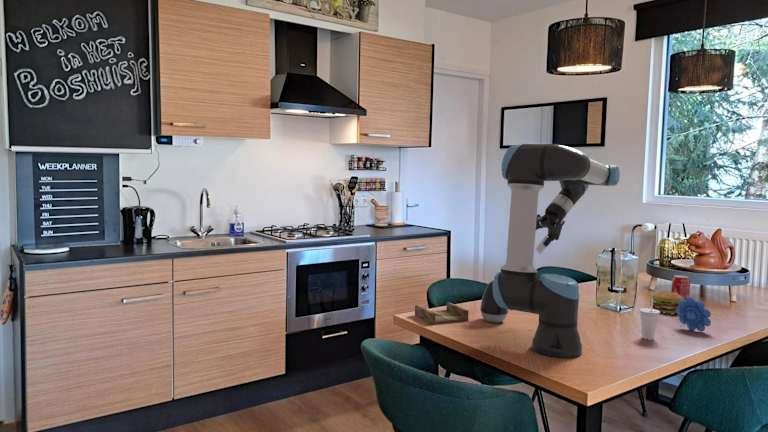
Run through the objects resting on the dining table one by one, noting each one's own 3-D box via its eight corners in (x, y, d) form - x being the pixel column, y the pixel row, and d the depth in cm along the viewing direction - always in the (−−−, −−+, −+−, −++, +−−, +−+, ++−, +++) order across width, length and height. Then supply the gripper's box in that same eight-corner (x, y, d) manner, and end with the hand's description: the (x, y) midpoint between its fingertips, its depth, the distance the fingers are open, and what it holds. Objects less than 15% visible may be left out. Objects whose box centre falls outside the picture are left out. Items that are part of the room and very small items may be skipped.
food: (687, 317, 224) (688, 297, 223) (648, 312, 230) (649, 292, 230) (688, 310, 235) (689, 291, 235) (651, 305, 242) (652, 287, 242)
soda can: (672, 300, 252) (673, 274, 251) (690, 303, 248) (691, 276, 247) (669, 303, 246) (671, 276, 245) (687, 306, 242) (689, 278, 241)
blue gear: (670, 329, 205) (673, 296, 204) (676, 325, 210) (678, 294, 209) (706, 336, 197) (709, 302, 196) (712, 332, 202) (714, 299, 201)
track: (468, 321, 210) (468, 310, 210) (432, 324, 204) (433, 314, 204) (448, 312, 223) (448, 302, 223) (414, 315, 217) (415, 305, 216)
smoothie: (657, 342, 189) (659, 301, 188) (636, 338, 192) (638, 298, 191) (659, 337, 194) (661, 297, 193) (639, 334, 198) (641, 295, 196)
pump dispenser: (508, 325, 205) (510, 284, 204) (479, 323, 207) (481, 282, 206) (508, 318, 215) (509, 279, 214) (480, 316, 217) (481, 277, 216)
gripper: (587, 218, 210) (553, 260, 205) (542, 212, 233) (511, 250, 228) (577, 204, 207) (542, 246, 202) (532, 200, 230) (500, 238, 225)
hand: (526, 248), depth 215 cm, fingers open, 13 cm apart
